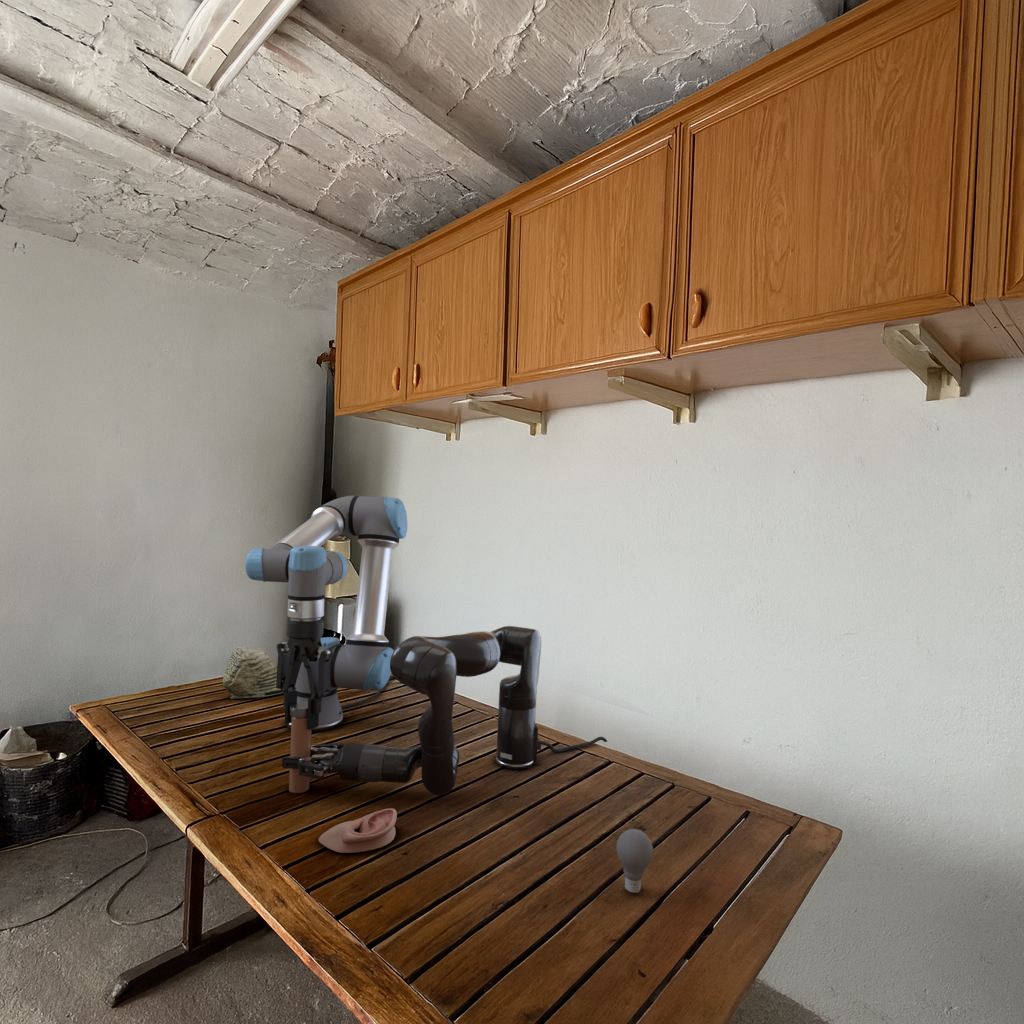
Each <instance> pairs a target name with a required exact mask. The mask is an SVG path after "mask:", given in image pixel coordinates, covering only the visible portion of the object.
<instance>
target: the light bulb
mask: <svg viewBox="0 0 1024 1024" xmlns="http://www.w3.org/2000/svg"><path fill="white" fill-rule="evenodd" d="M615 849H616V854H617V857H618V859H619V861H620V863H621V865H622V867H623V873H624V874H623V875H624V876H625V878H624V888H625V890H627V891H628V892H630V893H634V894H635V893H639V892H640V891H641V889H642V887H641V886H642V879H643V877H644V875H645V871H646V868H647V867H648V866H649V864H650V863H651V861H652V859H653V855H654V847H653V843H652V841H651V838H649V836H648V835H647V834H646V833H645V832H643V831H642V830H641V829H636V828H629V829H627V830H625V831H623V832H622V833H621V834H620V835H619V837H618V839H617V841H616V847H615Z"/></svg>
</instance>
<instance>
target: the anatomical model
mask: <svg viewBox="0 0 1024 1024" xmlns="http://www.w3.org/2000/svg"><path fill="white" fill-rule="evenodd" d="M397 816H398V813H397V810H396V809H395V808H392V807H390V808H384V809H380V810H377V811H374V812H371V813H369V814H366V815H364V816H362V817H360V818H357V819H354V820H348V821H343V822H341V823H339V824H335V825H334V826H332V827H330V828H328V830H326V831H324V832H323V833H322V834H321V835H320V836H319V837H318V842H319V843H320V844H321V845H322V846H324V847H325V848H327V849H329V850H332V851H333V852H336V853H339V854H351V853H361V852H367V851H372V850H376V849H380V848H382V847H385V846H387V845H389V844H390V843H392V842H393V840H394V839H395V837H396V833H397V832H396V827H395V825H396V823H397V818H398V817H397Z"/></svg>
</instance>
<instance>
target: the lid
mask: <svg viewBox="0 0 1024 1024" xmlns="http://www.w3.org/2000/svg"><path fill="white" fill-rule="evenodd" d="M290 715H291V716H295V717H305V716H307V715H308V702H297V703H293V704H291V705H290Z"/></svg>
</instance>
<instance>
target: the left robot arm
mask: <svg viewBox="0 0 1024 1024" xmlns="http://www.w3.org/2000/svg"><path fill="white" fill-rule="evenodd" d="M407 532H408V514H407V510H406V506H405V504H404V501H402V500H401V499H400V498H397V497H390V496H365V495H346V496H341V497H339V498H336V499H332V500H330V501H328V502H326V503H324V504H322V505H321V506H319V507H318V508H317V509H315V510H314V511H313V512H312V514H311V515H310V518H309V519H307V520H306V521H305V522H304V523H302V524H301V525H299V526H297V528H295V529H294V530H293V531H290V533H289V534H287V535H286V536H285V537H283V538H281V539H280V540H279V541H277V542H275V544H273V545H272V546H271V547H269V548H264V547H261V548H253V549H251V550H250V551H249V552H248V554H247V555H246V558H245V562H244V568H245V573H246V577H248V578H249V579H250V580H253V581H257V582H258V581H259V582H263V583H265V582H266V583H267V582H269V583H288V591H287V592H288V594H287V614H286V615H287V617H288V619H287V620H286V636H287V638H288V639H287V641H284V642H280V643H277V644H276V651H277V665H276V668H277V678H276V688H277V689H281V690H282V691H283V693H282V694H283V703H282V704H283V705H282V706H283V707H284V725H285V726H286V728H287V729H289V730H291V717H292V716H291V715H290V705H291V704H293V703H297V702H308V715H307V729H308V730H311V729H312V731H311V733H316V732H325V731H329V730H332V729H335V728H337V727H339V726H340V725H342V723H343V722H344V714H343V709H345V708H349V707H353V706H357V705H360V704H364V703H366V702H368V701H369V702H370V701H371V700H372V699H375V698H376V697H378V696H379V695H380V694H381V692H382V690H383V689H384V687H385V686H386V685H387V684H388V682H389V681H390V680H392V679H395V677H394V676H393V675H392V673H391V670H390V659H391V656H392V654H393V652H394V649H393V648H391V647H389V642H390V641H389V639H388V638H387V637H386V636H385V627H386V618H387V611H388V610H387V608H388V600H389V592H390V591H389V590H390V581H391V571H392V562H393V551H394V550H395V549H396V548H397V547H399V545H400V540H402V539H405V538H406V537H407ZM340 536H352V537H357V543H358V544H359V545H360V546H361V548H362V549H361V556H360V565H359V575H358V582H357V592H356V600H355V609H354V618H353V625H352V632H351V634H350V635H348V636H347V637H346V638H345V644H341V641H340V639H339V638H338V637H334V636H325V637H323V635H324V623H325V622H324V619H323V617H324V616H325V591H326V586H329V585H334V584H336V583H338V582H340V581H341V580H343V579H344V578H345V576H346V575H347V573H348V570H349V564H348V560H347V559H346V557H345V556H344V555H343V554H342V553H341V552H339V551H336V550H326V548H325V547H323V545H324V544H326V543H327V542H328V541H329V540H334V539H337V538H338V537H340ZM282 681H283V682H282ZM338 689H350V690H360V691H361V690H362V691H366V692H367V691H376V692H375V693H374V694H373V695H371V696H369V697H367V698H364V699H360V700H358V701H355V702H350V703H346V704H343V705H341V702H340V699H339V695H338Z"/></svg>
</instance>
